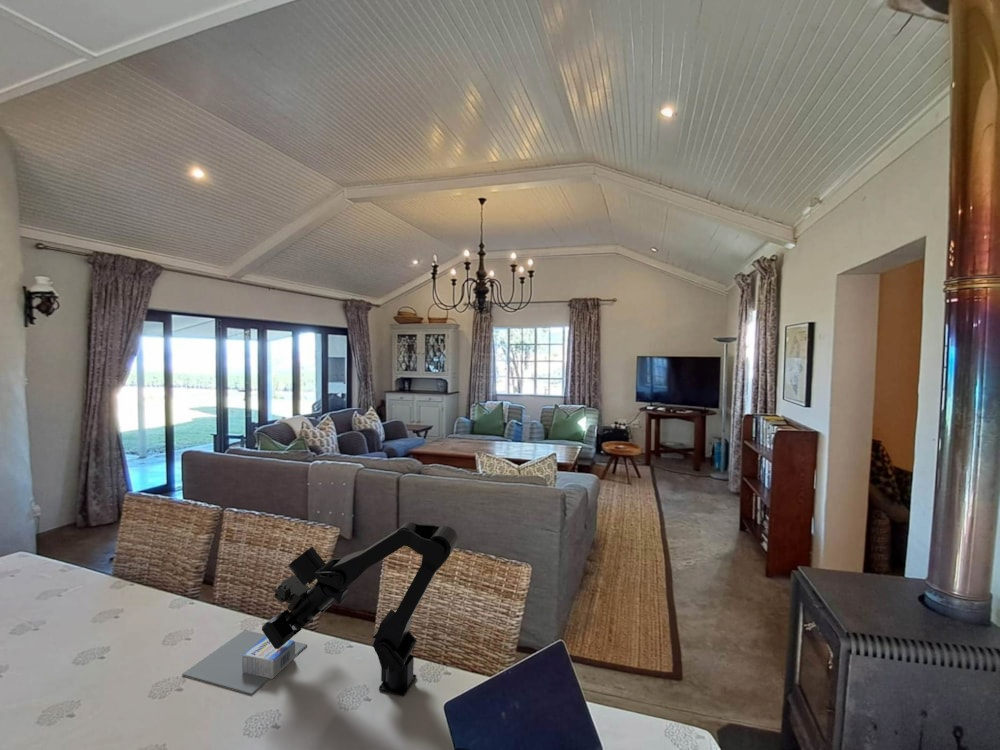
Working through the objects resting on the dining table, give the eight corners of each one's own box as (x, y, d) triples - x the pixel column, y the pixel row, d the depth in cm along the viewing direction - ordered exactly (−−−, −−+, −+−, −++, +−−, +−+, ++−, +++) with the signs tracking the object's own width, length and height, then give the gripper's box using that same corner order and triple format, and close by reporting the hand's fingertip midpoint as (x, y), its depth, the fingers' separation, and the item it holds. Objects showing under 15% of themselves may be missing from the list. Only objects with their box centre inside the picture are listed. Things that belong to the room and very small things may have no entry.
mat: (307, 645, 117) (307, 644, 117) (251, 695, 100) (251, 693, 100) (245, 631, 123) (245, 629, 123) (182, 675, 105) (182, 673, 105)
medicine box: (273, 661, 104) (241, 654, 106) (273, 679, 104) (241, 673, 106) (295, 640, 112) (265, 634, 114) (295, 657, 112) (265, 651, 114)
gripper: (323, 553, 118) (288, 588, 121) (269, 588, 100) (229, 627, 103) (349, 588, 116) (312, 622, 119) (298, 630, 98) (256, 668, 101)
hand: (279, 633), depth 111 cm, fingers closed
